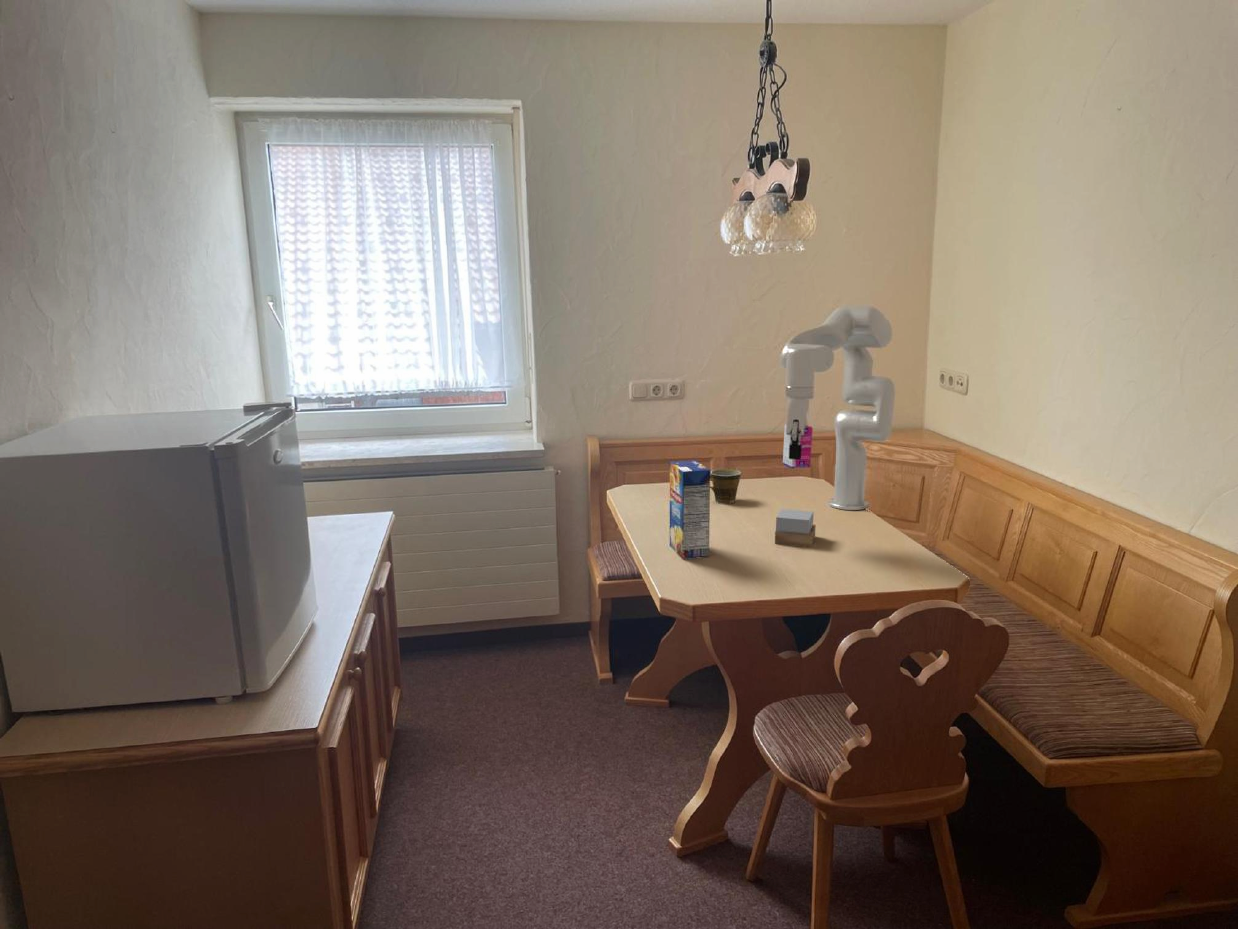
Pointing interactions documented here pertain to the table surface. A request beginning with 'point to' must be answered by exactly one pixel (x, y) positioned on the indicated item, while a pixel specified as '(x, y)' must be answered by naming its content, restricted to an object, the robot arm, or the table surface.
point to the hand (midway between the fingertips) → (797, 455)
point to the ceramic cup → (725, 484)
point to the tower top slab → (794, 521)
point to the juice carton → (689, 509)
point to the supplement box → (805, 450)
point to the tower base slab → (795, 538)
